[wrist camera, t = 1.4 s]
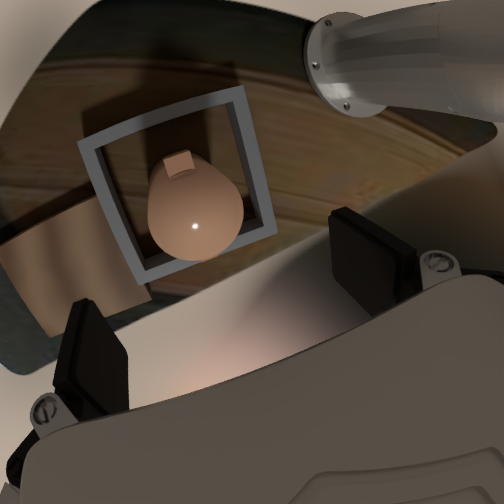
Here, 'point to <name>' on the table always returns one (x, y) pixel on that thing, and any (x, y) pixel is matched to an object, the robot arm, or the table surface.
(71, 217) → the board
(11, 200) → the table surface
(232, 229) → the tan tapered capsule
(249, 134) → the holder frame
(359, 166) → the table surface
